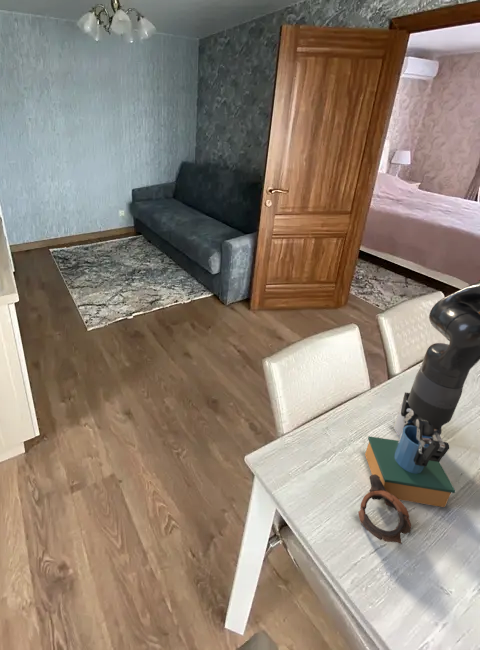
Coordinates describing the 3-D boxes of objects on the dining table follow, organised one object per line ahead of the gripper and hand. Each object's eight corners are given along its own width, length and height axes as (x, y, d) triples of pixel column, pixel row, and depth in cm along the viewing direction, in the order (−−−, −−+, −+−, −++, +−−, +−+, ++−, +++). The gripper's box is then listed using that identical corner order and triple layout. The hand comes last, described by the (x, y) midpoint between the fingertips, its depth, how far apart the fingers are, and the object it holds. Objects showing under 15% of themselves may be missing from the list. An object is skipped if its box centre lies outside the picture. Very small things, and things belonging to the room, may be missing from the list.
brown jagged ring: (423, 548, 68) (420, 537, 63) (372, 553, 70) (366, 543, 66) (392, 478, 77) (388, 465, 73) (349, 485, 80) (342, 472, 75)
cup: (416, 452, 80) (425, 427, 77) (428, 475, 75) (439, 450, 72) (390, 448, 81) (398, 423, 78) (400, 471, 75) (409, 445, 72)
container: (422, 462, 84) (430, 445, 81) (447, 509, 74) (455, 490, 72) (363, 453, 86) (368, 436, 83) (379, 497, 76) (385, 479, 74)
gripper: (477, 425, 63) (449, 486, 69) (436, 370, 76) (415, 425, 82) (432, 419, 64) (408, 479, 70) (399, 365, 77) (382, 421, 83)
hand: (412, 450), depth 76 cm, fingers closed on cup, 5 cm apart
